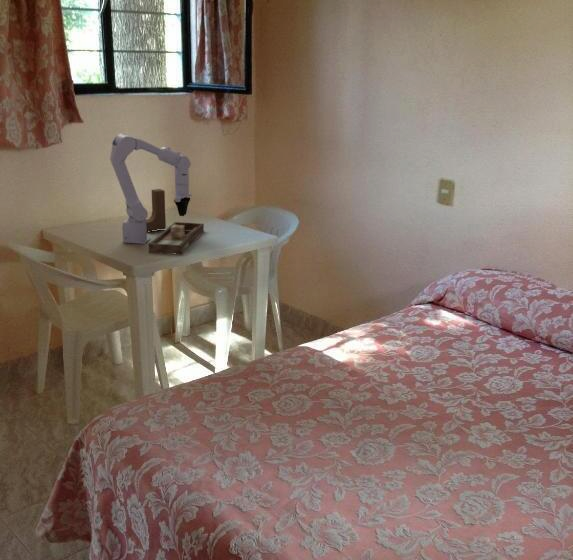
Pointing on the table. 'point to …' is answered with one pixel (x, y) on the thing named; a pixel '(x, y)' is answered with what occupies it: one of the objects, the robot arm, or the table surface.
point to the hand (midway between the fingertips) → (182, 215)
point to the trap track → (176, 239)
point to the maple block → (177, 231)
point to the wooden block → (157, 211)
